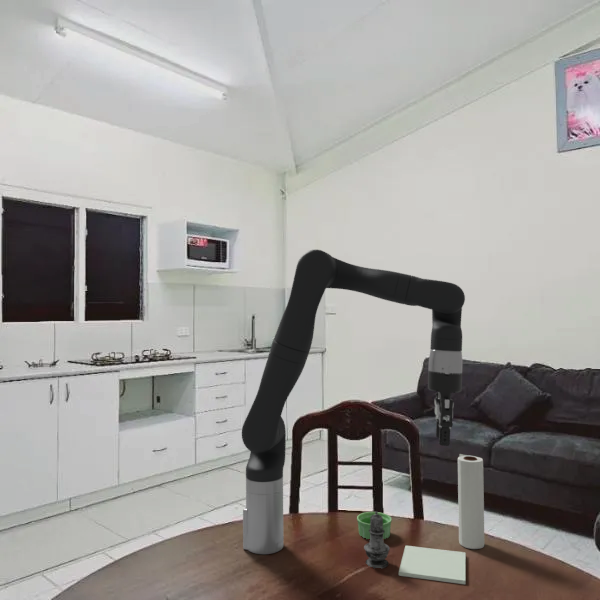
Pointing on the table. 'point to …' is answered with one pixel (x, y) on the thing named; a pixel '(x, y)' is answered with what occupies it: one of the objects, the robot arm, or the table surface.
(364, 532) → the ramekin
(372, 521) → the salt shaker
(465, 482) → the paper towel roll
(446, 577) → the sage tile
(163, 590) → the table surface
